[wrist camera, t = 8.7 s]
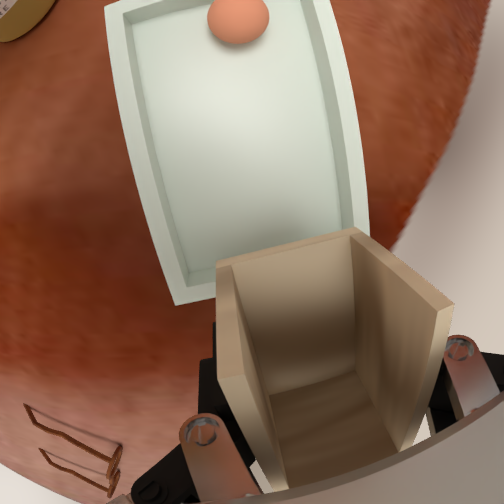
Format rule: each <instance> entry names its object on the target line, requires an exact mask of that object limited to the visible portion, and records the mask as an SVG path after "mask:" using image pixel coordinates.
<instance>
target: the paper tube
mask: <svg viewBox="0 0 504 504" xmlns="http://www.w3.org/2000/svg"><path fill="white" fill-rule="evenodd" d="M54 1H55V0H0V42H8V41H11V40H14V39H16V38H18V37H20V36H22V35H24V34H25V33H27V32H28V31H29V30H31V29H32V28H33V27H34V26H35V25H36V24H37V23H38V22H39V21H40V20H41V19H42V18H43V17H44V16H45V15H46V13H47V12H48V11H49V9H50V8H51V6H52V5H53V3H54Z"/></svg>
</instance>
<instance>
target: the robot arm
mask: <svg viewBox="0 0 504 504" xmlns="http://www.w3.org/2000/svg"><path fill="white" fill-rule="evenodd" d="M425 413H426V417H427V421H428V425H429V430H430V435H431V437H429V438H428V439H426V440H424V441H422V442H420V443H418V444H416V445H414V446H411V447H409V448H407V449H405V450H403V451H401V452H399V453H396V454H394V455H392V456H389V457H387V458H385V459H382V460H380V461H377V462H375V463H372V464H370V465H367V466H365V467H362V468H359V469H356V470H354V471H351V472H348V473H345V474H342V475H339V476H335V477H332V478H329V479H326V480H322V481H319V482H315V483H311V484H308V485H304V486H300V487H295V488H291V489H287V490H282V491H277V492H272V493H267V494H264V493H263V491H262V489H261V488H260V486H259V484H258V482H257V480H256V479H255V477H254V475H253V473H252V471H251V469H250V466H251V465H252V464H253V462H254V461H255V460H256V459H255V456H254V454H253V452H252V450H251V448H250V446H249V444H248V442H247V440H246V438H245V437H244V435H243V433H242V431H241V429H240V427H239V424H238V422H237V420H236V418H235V416H234V414H233V412H232V410H231V408H230V406H229V404H228V402H227V399H226V397H225V395H224V393H223V391H222V389H221V386H220V384H219V382H218V380H217V345H216V322H213V358H208V359H203V360H201V361H200V367H199V396H198V415H194V416H192V417H190V418H189V419H188V420H186V421H185V422H184V423H183V425H182V426H181V428H180V431H179V440H180V444H179V445H178V446H177V447H175V448H174V449H173V450H172V451H171V452H170V453H168V454H167V455H166V456H165V457H164V458H163V459H161V460H160V461H159V462H158V463H157V464H156V465H154V466H153V467H152V468H151V469H149V470H148V471H147V472H146V473H145V474H143V475H142V476H141V477H140V478H138V479H137V480H136V481H135V483H134V484H133V486H132V488H131V493H129V494H128V495H124V494H122V495H120V496H118V497H117V498H115V499H113V500H112V501H110V502H108V503H106V504H504V355H500V354H492V353H485V352H480V351H479V348H478V347H477V345H476V343H475V342H474V341H473V340H472V339H470V338H469V337H466V336H464V335H452V336H449V337H448V339H447V343H446V347H445V351H444V355H443V359H442V362H441V366H440V370H439V373H438V376H437V380H436V383H435V386H434V389H433V392H432V395H431V398H430V401H429V404H428V407H427V410H426V412H425Z"/></svg>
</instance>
